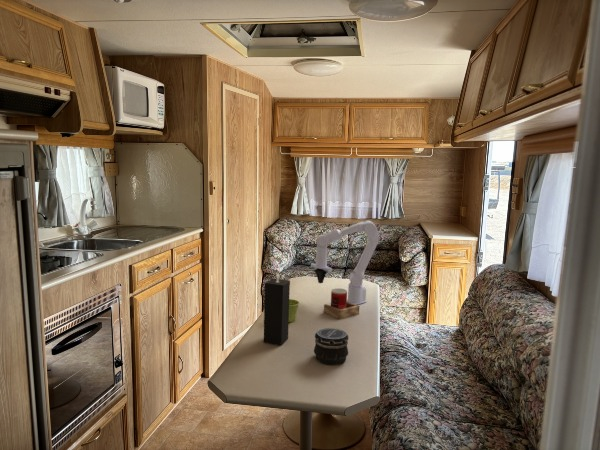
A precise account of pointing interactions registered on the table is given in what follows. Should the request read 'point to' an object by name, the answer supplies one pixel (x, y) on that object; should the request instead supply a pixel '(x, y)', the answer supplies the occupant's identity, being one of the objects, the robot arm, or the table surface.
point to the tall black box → (276, 311)
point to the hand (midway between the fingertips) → (320, 282)
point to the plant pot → (292, 309)
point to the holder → (342, 310)
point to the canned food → (339, 298)
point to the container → (331, 346)
